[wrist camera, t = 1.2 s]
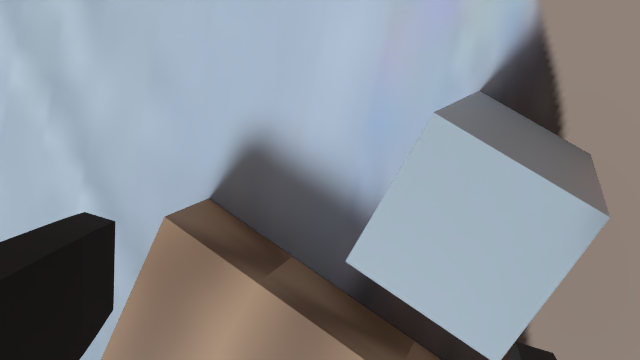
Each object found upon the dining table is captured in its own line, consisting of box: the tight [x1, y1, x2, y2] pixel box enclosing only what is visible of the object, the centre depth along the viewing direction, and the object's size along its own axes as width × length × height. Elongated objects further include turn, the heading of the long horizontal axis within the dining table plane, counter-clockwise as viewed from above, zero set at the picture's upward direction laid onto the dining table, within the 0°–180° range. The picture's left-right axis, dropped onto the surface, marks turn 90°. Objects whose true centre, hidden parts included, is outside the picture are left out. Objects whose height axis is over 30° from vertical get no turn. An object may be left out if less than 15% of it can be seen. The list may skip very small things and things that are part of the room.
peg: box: [345, 91, 610, 360], centre depth 17 cm, size 4×4×8 cm
